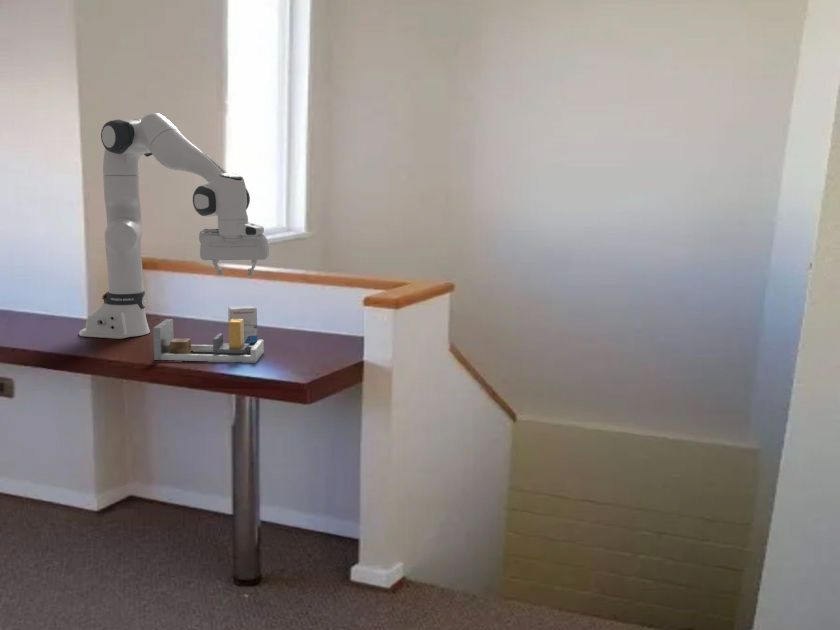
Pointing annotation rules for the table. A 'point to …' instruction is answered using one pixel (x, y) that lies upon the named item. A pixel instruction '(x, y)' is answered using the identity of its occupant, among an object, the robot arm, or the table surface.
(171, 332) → the frame
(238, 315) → the ink box
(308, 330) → the table surface
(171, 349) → the wooden cube
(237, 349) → the slider
